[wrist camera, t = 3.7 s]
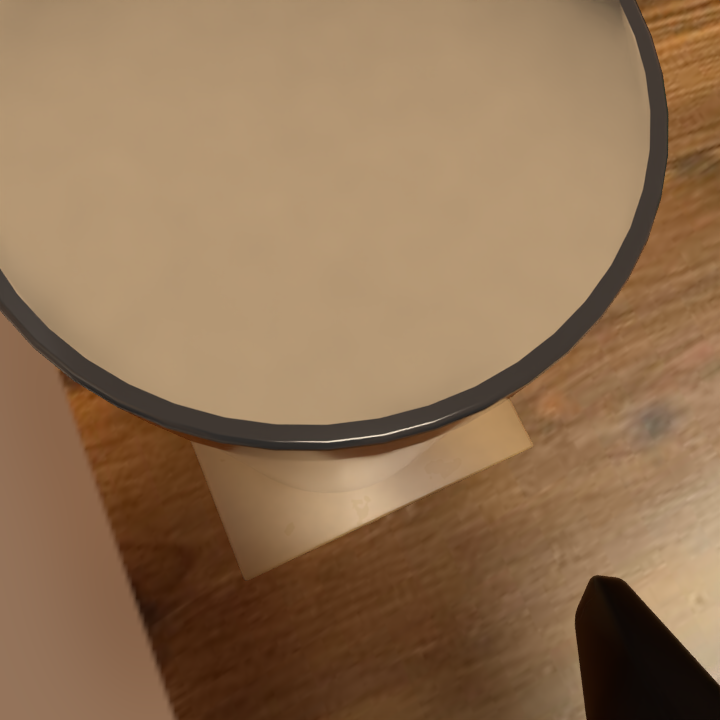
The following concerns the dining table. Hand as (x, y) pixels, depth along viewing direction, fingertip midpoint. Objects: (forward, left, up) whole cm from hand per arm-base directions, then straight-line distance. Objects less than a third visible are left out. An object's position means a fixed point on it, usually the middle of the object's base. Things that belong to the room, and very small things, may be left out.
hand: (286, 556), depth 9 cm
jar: (+1, +4, -6) cm, 8 cm away
